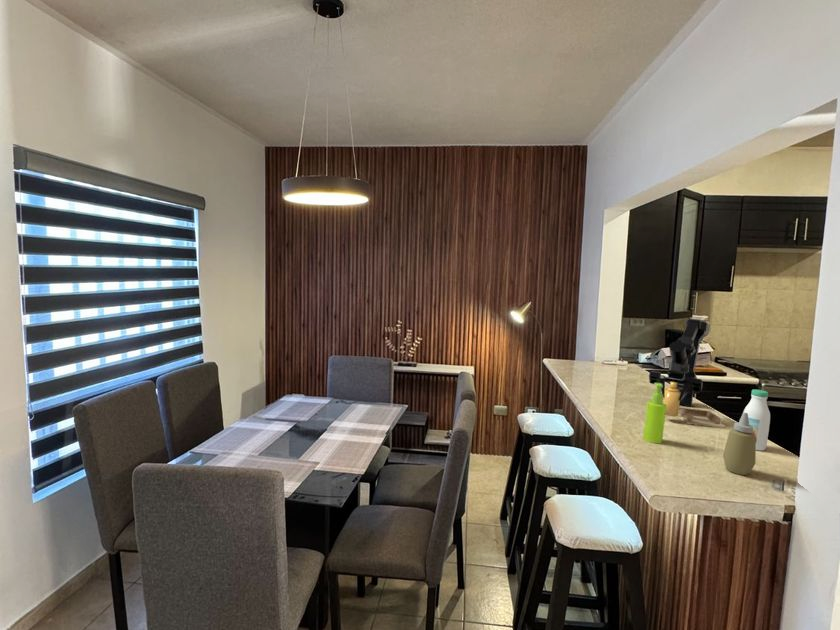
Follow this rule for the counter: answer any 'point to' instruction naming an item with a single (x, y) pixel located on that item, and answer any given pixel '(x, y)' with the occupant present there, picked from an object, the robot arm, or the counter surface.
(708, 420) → the u rest
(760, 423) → the milk bottle
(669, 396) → the amber bottle
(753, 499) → the counter surface
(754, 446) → the squeeze bottle
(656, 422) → the soap dispenser
